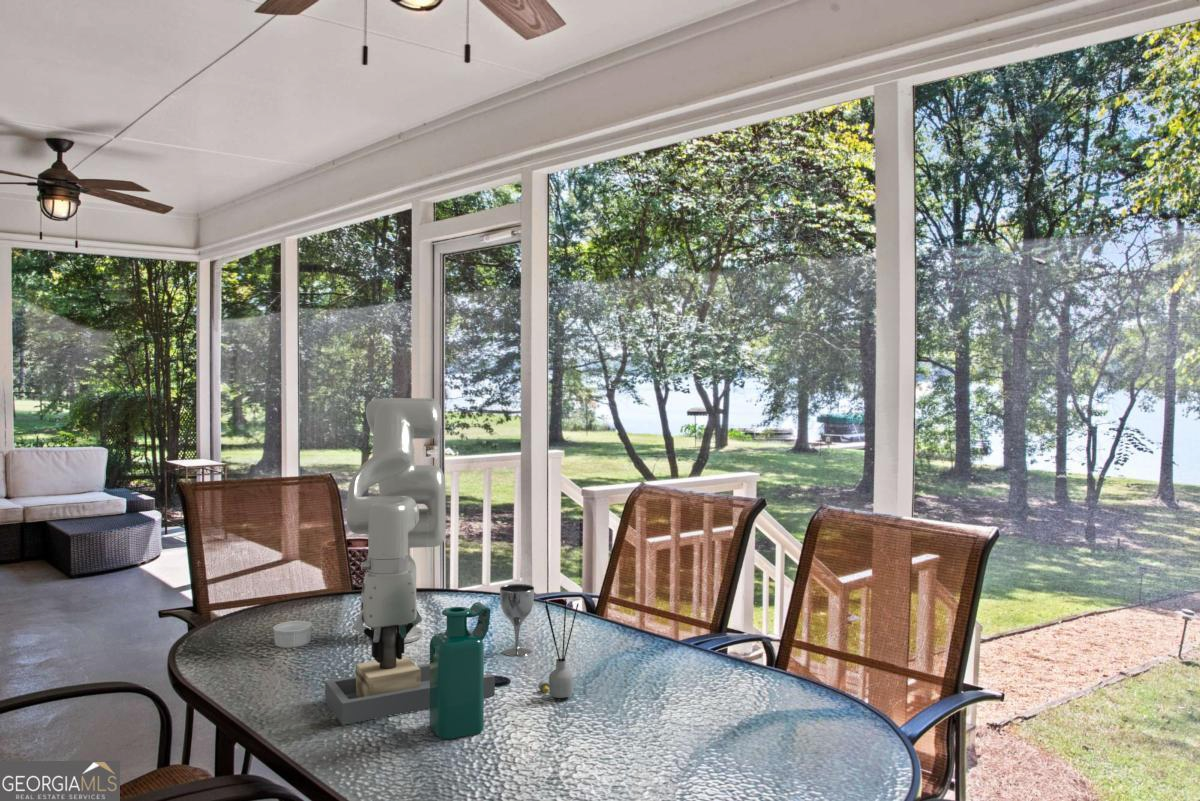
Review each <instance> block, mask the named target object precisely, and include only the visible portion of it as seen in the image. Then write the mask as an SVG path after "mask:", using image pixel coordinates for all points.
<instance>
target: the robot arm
mask: <svg viewBox="0 0 1200 801" xmlns="http://www.w3.org/2000/svg"><path fill="white" fill-rule="evenodd" d="M365 418H366V420H367V425H368V427H369V428H370V431H371V433H372V435H373V436H372V437H373V439H372V453H371V457H370V458H369V459H367V460H366V461H365V462H364V463H363V464H362V465H360V467H359V468H358V469H357V471H355V473H353V475H352V478H351V480H350V481H349V485H348V488H347V489H348V490H347V497H346V509H345V511H346V512H345V523H346V525H347V528H348V529H349V531H350V532H352V533H354V534H357V535H367V536H368V537H367V539H368V540H367V541H368V543H367V546H368V547H367V548H368V549H367V550H368V551H367V552H368V555H367V559H366V560H365V561H361V562H360V568H361V570H367V572H365V573H364V577H363V583H362V587H361V588H362V590H361V600H360V611H359V614H358V616H357V617H356V620H355V622H354V623H353V627H352V628H353V629H354V631H355V632H356V631H357V632H359V633H361V634H364V635H365V636H367V637H368V638H369V639H370V640H371V657H372V658H374V661H377V662H378V663H381V662H382V642H381V641H380V631H381V627H386V626H394V625H397V640H396V658H397V659H399V660H400V659H402V656H403V654H404V653H405V644H407V643H412V642H415V641H418V640H419V639H421V638H422V637H423V629H421V628H420V627H417V625H419V623H421V622H422V621H423V618H422V616H421V614H420V613H419V611H418V609H417V565H416V562H415V560H414V559H413V557H412V556H411V554H410V553H409V549H411V548H412V549H413V548H434V547H439V546H441V545H442V544H443V543H444V541H445V538H446V524H447V522H446V521H447V520H446V519H447V517H446V516H447V515H446V513H447V512H446V509H447V508H446V506H447V505H446V503H447V502H446V480H445V479H446V478H445V475H444V472H443V470H442V468H441V467H439V466H436V465H430V464H427V465H426V464H421V465H418V464H417V465H416V464H415V445H414V443H413V440H414V439H415V440H416V439H435V438H438V436H439V435H440V432H441V429H442V428H441V427H442V410H441V405H440V403H439V401H438V400H437V399H435V398H428V397H427V398H423V397H421V398H420V397H417V398H415V397H414V398H413V397H412V398H410V397H409V398H408V397H406V398H405V397H384V398H383V397H382V398H375V399H372V400H370V401H369V402H367V404H366V406H365ZM376 484H378V491H379V492H378V493H379V496H377V495H376V496H363V494H364V493H365V492H366V491H367V490H369V488H371V487H373V486H375V485H376ZM419 505H425V507H427V508H419Z"/></svg>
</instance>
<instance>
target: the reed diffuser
mask: <svg viewBox="0 0 1200 801" xmlns="http://www.w3.org/2000/svg"><path fill="white" fill-rule="evenodd" d="M544 602H545V606H544V608H545V610H546V616H547V618H548V623H549V627H550V632H551V635H552V639H553V642H554V646H555V650H556V654H557V659H556V660H555V661H556V662H555V663H556V665H555V667H556V668H555V669H554V670H552V671H551V672H550V673H549V675H548V680H542V681H541V682H539V684H538V689H539V691H541V692H542V693H543V694H547V693H549V696H551V697H553V698H558V699H559V698H561V699H562V698H568V697H570V696H572V695H573V683H574V681H573V680H574V679H573V678H574V677H573V674H572V672H571V671H570V670H569V669H567V668H566V667H567V666H566V665H567V664H566V661H567V660H566V655H567V652H568V647H569V643H570V641H571V635H572V631H573V628H574V624H575V620H576V616H577V613H578V608H579V603H577V604H576V607H575V612H574V616H573V620H572V624H571V628H570V631H569V634H568V639H567V644H566V647H565V639H566V638H565V635H566V621H567V620H566V617H567V616H566V615H567V598H565V599H564V617H563V634H562V636H563V637H562V654H561V656H562V658H560V655H559V649H558V645H557V641H556V636H555V633H554V631H555V630H554V629H553V628H554V627H553V623H552V619H551V615H550V610H549V607H548V602H547V597H546V596H544Z"/></svg>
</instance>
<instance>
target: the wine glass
mask: <svg viewBox="0 0 1200 801" xmlns="http://www.w3.org/2000/svg"><path fill="white" fill-rule="evenodd" d="M499 598H500V599H499V600H500V606H501V609H502V610H501V611H502V612H503V614H504V616H505V617H506V618H507V619H508V621H510V623H511V624H512V626H513V630H514V638H515V639H514V640H515V644H514V646H513V647H507V649H506V648H504V649H502V650H503V651H502V650H501V654H502V653H503V654H502V655H504V654H505V655H504V656H506V655H510V656H509V657H514V656H517V657H524V656H523V655H525V656H528V655H527V654H529V655H531V654H532V653H533V650H532V649H531V648H529V647H524V646H520V645H519V644H520V638H519V637H520V631H521V626H522V624H523V623H524V622H525V620H526V619H527V618H528V616H529V615H530V613H531V612H532V610H533V606H534V599H535V586H533V585H531V584H526V583H525V584H524V583H512V584H504V585H502V586H500V587H499ZM531 650H532V651H531ZM531 652H532V653H531ZM530 653H531V654H530Z"/></svg>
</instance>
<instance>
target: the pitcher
mask: <svg viewBox="0 0 1200 801" xmlns="http://www.w3.org/2000/svg"><path fill="white" fill-rule="evenodd" d="M491 610H492V609H491V608H490V607H488V606H486V605H485V604H483V603H482V602H480V601H476V602H474V603H472V605H471V607H465V606H451V607H446V608H444V609H443V610H442V611H441V614H442V615H443V617H446V629H445V631H442V632H438V633H436V634H434V635H433V636H432V637H431V639H430V642H429V663H430V709H429V727H430V728H431V730H432V731H433V732H434V733H435V735H436V736H437V737H438V738H439V739H441V740H454V739H459V738H464V737H470V736H475V735H478V733H479V734H480V733H482V732H483V731H484V727H485V726H484V724H485V723H484V722H485V721H484V720H485V716H484V715H485V712H484V711H485V710H484V709H485V708H484V704H485V702H484V701H485V698H484V675H485V669H484V668H485V662H484V661H485V659H484V658H485V657H484V656H485V644H484V641H483V640H484V639H485V638H486V636H487V633H488V630H489V628H490V620H491ZM476 617H477V623H476V626H474V629H473V630H470V629H468V618H469V619H470V618H476Z"/></svg>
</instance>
